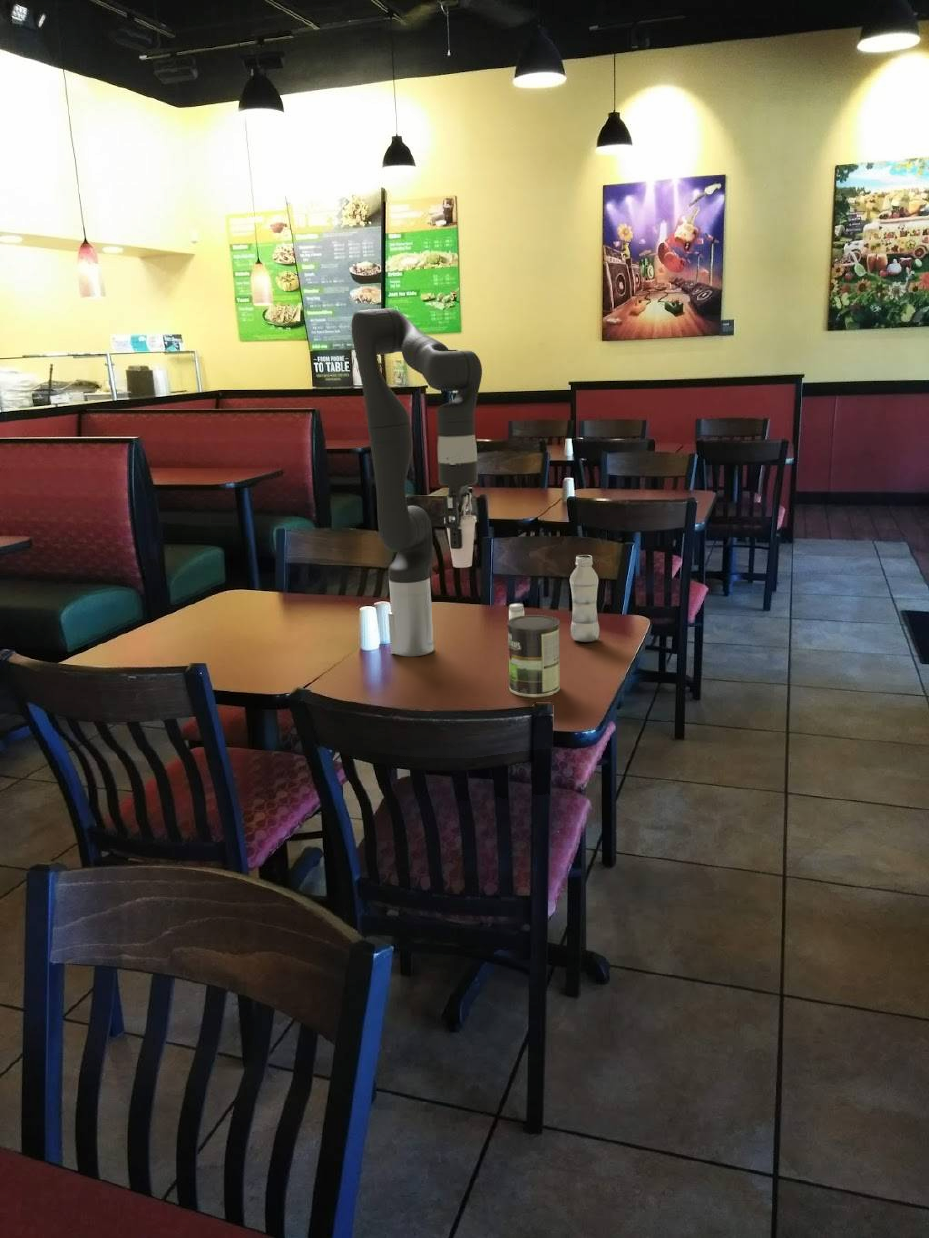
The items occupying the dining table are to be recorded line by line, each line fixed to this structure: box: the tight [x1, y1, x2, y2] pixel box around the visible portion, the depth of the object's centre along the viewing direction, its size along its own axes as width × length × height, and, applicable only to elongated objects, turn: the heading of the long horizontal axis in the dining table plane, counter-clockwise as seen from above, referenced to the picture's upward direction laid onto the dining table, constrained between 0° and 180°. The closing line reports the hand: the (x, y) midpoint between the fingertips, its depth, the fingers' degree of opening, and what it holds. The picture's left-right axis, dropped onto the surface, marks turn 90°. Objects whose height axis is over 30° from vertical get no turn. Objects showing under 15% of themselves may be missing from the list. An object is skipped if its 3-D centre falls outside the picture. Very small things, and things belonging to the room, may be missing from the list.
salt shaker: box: [508, 603, 525, 621], centre depth 220 cm, size 4×4×8 cm
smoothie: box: [443, 514, 478, 569], centre depth 182 cm, size 6×6×14 cm
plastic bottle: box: [569, 554, 600, 643], centre depth 214 cm, size 6×7×20 cm
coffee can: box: [506, 614, 561, 698], centre depth 186 cm, size 10×10×14 cm
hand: (460, 544), depth 183 cm, fingers closed on smoothie, 6 cm apart
